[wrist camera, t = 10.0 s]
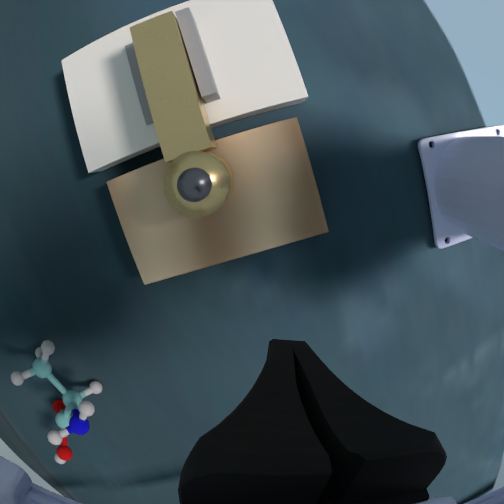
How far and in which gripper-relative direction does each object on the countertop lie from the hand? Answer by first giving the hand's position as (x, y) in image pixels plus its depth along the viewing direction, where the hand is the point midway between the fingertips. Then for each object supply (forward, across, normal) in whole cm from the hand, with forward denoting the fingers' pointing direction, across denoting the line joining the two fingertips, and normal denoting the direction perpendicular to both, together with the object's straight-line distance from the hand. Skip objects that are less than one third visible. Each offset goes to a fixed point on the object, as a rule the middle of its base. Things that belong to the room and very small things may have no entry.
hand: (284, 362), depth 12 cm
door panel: (+10, +7, -12) cm, 18 cm away
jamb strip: (+10, +4, -4) cm, 12 cm away
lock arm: (+8, +6, -9) cm, 14 cm away
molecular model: (+11, +16, +13) cm, 23 cm away
